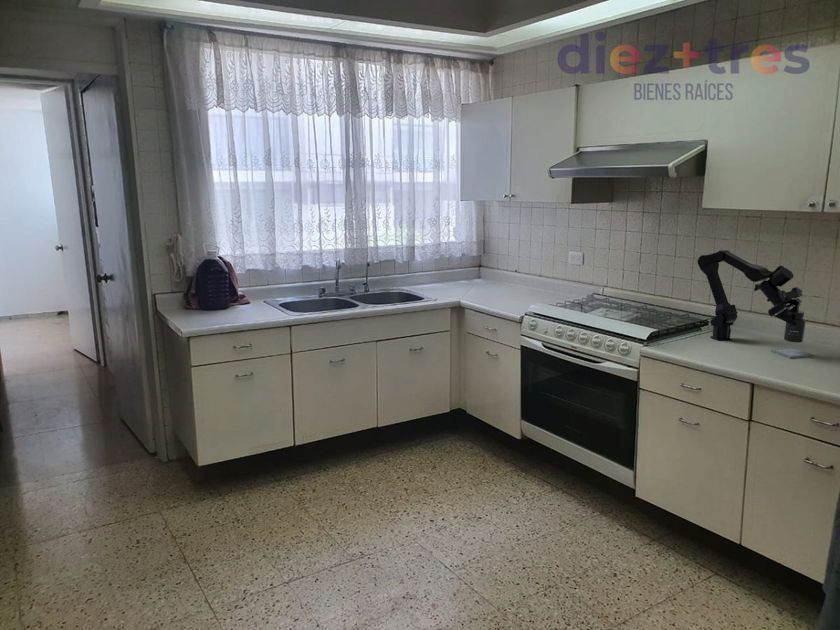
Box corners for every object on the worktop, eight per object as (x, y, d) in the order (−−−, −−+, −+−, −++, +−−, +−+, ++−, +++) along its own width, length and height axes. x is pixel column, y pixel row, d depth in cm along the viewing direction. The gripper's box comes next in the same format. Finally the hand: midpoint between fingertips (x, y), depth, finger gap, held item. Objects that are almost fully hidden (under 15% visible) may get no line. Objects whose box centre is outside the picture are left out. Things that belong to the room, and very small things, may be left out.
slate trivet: (790, 358, 247) (790, 356, 247) (770, 351, 258) (770, 349, 258) (814, 356, 249) (815, 354, 249) (794, 349, 260) (794, 347, 259)
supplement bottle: (790, 343, 249) (794, 313, 246) (779, 338, 256) (783, 310, 253) (807, 342, 249) (810, 313, 247) (795, 338, 256) (799, 309, 253)
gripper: (779, 283, 245) (807, 315, 239) (798, 278, 256) (825, 308, 250) (756, 300, 252) (783, 331, 246) (776, 294, 264) (801, 324, 258)
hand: (799, 323), depth 250 cm, fingers closed on supplement bottle, 7 cm apart
